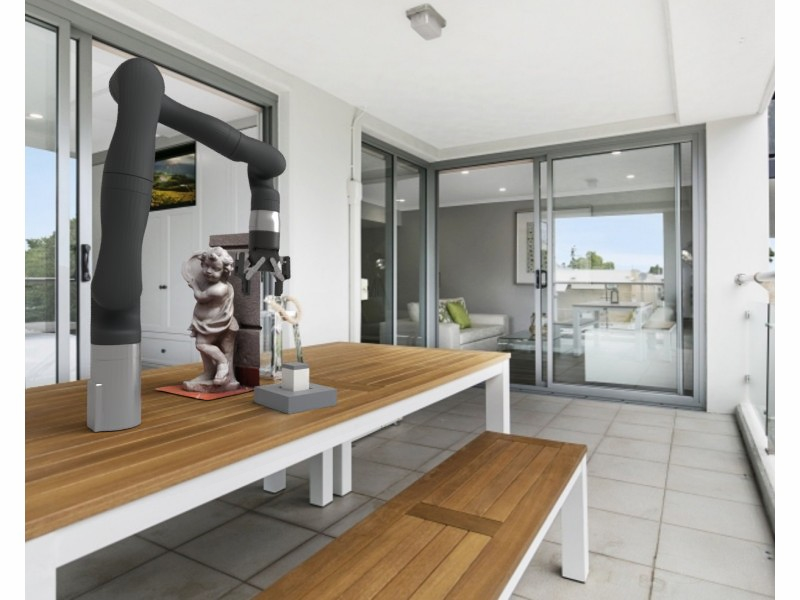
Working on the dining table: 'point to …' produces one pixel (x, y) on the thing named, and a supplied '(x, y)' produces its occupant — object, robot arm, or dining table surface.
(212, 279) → the cherub statue
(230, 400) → the dining table surface
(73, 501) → the dining table surface
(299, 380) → the plug
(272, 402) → the grey square socket
